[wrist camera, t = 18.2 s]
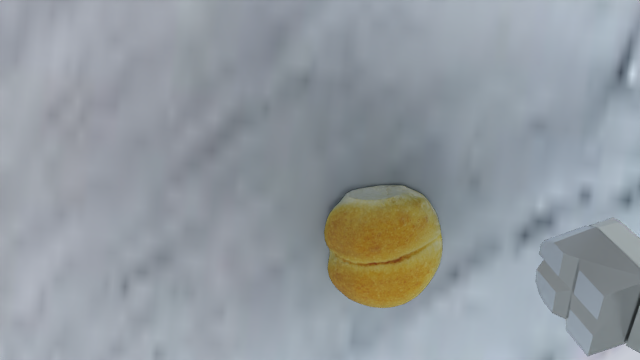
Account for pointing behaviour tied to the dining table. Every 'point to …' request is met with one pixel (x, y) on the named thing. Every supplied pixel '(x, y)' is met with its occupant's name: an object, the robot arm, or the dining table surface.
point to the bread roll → (383, 245)
